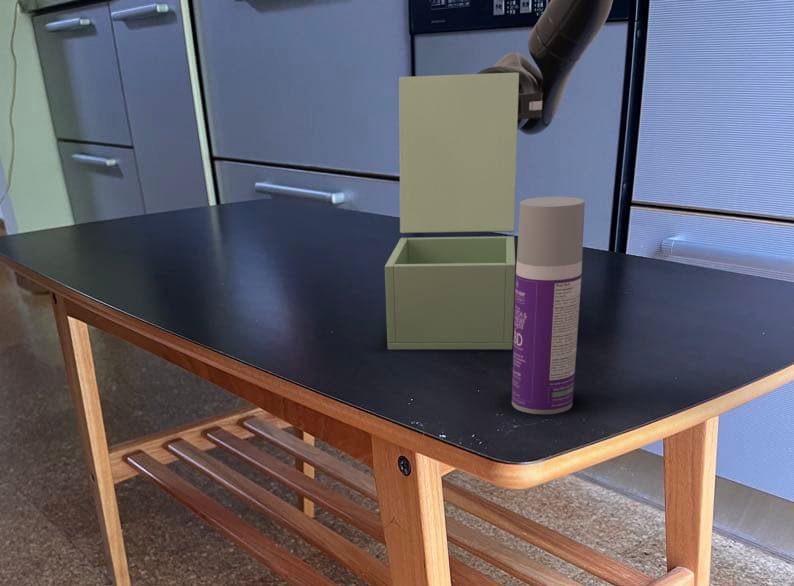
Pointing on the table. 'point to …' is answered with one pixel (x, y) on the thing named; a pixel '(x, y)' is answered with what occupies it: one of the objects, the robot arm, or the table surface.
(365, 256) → the table surface
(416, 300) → the chest
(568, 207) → the container
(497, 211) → the lid
